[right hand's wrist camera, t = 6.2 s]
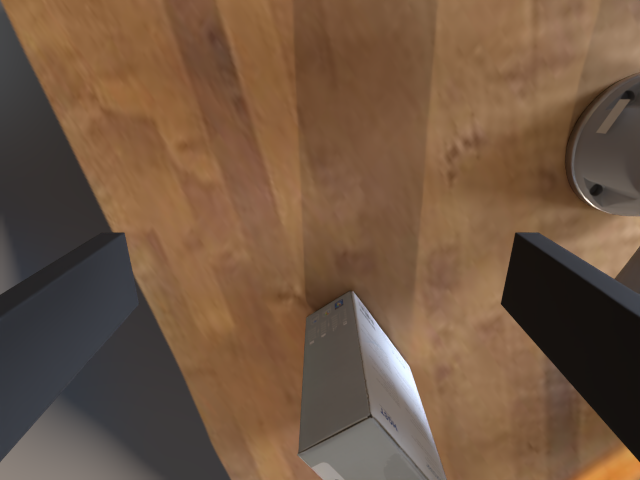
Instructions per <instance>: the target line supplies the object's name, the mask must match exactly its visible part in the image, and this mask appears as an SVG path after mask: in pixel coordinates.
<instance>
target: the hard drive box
mask: <svg viewBox="0 0 640 480" xmlns="http://www.w3.org/2000/svg"><path fill="white" fill-rule="evenodd" d="M297 455H298V456H299V457H300V458H301V459H302V460H303V461H304V462H305V463H306V464H307V465H308V466H309V467H310V468H311V469H312V470H313V471H314V472H315V473H316V474H317V475H318V476H319V477H320V478H321V479H322V480H447V479H446V475H445V472H444V469H443V466H442V463H441V460H440V457H439V454H438V451H437V448H436V445H435V442H434V439H433V436H432V433H431V430H430V427H429V424H428V421H427V418H426V415H425V412H424V409H423V406H422V403H421V400H420V397H419V394H418V391H417V388H416V385H415V382H414V378H413V376H412V373H411V370H410V367H409V366H408V364H407V363H406V362H405V360H404V359H403V358H402V356H401V355H400V353H399V352H398V351H397V349H396V348H395V347H394V345H393V344H392V343H391V341H390V340H389V339H388V337H387V336H386V335H385V333H384V332H383V331H382V329H381V328H380V327H379V325H378V324H377V322H376V321H375V320H374V318H373V317H372V316H371V314H370V313H369V311H368V310H367V309H366V307H365V306H364V305H363V304H362V302H361V301H360V299H359V298H358V297H357V295H356V294H355V293H354V291H352V292H350V291H349V292H347V293H346V294H344V295H342V296H341V297H339V298H337V299H336V300H334V301H332V302H331V303H329V304H327V305H326V306H324V307H323V308H321V309H319V310H318V311H316V312H314V313H313V314H311V315H309V316H308V317H307V318H306V331H305V347H304V366H303V384H302V401H301V419H300V435H299V452H298V454H297Z"/></svg>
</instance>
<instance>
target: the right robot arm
mask: <svg viewBox="0 0 640 480" xmlns="http://www.w3.org/2000/svg"><path fill="white" fill-rule="evenodd" d="M565 165H566V174H567V178H568V181H569V183H570V186H571V187H572V189H573V191H574V192H575V194H576V195H577V196H578V197H579V198H580V199H581V200H582V201H583V202H585V203H586V204H588V205H589V206H592V207H594V208H596V209H599V210H601V211H604V212H607V213H610V214H615V215H622V216H640V73H637V74H633V75H631V76H628V77H626V78H624V79H622V80H620V81H618V82H616V83H615V84H613V85H611V86H610V87H609V88H607V89H606V90H605V91H603V92H602V93H601V94H600V95H599V96H597V97H596V98H595V99H594V100H593V101H592V102H591V104H590V105H589V106H588V107H587V108H586V109H585V111H584V112H583V113H582V115H581V116H580V118H579V119H578V121H577V123H576V125H575V127H574V129H573V131H572V133H571V136H570V139H569V142H568V146H567V150H566V160H565ZM138 305H139V301H138V296H137V291H136V286H135V281H134V276H133V272H132V267H131V262H130V257H129V252H128V247H127V243H126V238H125V233H100V234H99V235H97V236H95V237H94V238H92V239H90V240H89V241H87V242H86V243H84V244H82V245H81V246H79V247H77V248H76V249H74V250H72V251H71V252H69V253H68V254H66V255H64V256H63V257H61V258H59V259H58V260H56V261H55V262H53V263H51V264H50V265H48V266H46V267H45V268H43V269H42V270H40V271H38V272H37V273H35V274H33V275H32V276H30V277H29V278H27V279H25V280H24V281H22V282H20V283H19V284H17V285H16V286H14V287H12V288H11V289H9V290H7V291H6V292H4V293H3V294H1V295H0V462H1V461H2V459H3V458H4V457H5V456H6V455H7V454H8V453H9V451H10V450H11V449H12V448H13V447H14V446H15V445H16V443H17V442H18V441H19V440H20V439H21V438H22V437H23V435H24V434H25V433H26V432H27V431H28V430H29V429H30V428H31V426H32V425H33V424H34V423H35V422H36V421H37V420H38V418H39V417H40V416H41V415H42V414H43V413H44V412H45V410H46V409H47V408H48V407H49V406H50V405H51V404H52V403H53V401H54V400H55V399H56V398H57V397H58V396H59V395H60V393H61V392H62V391H63V390H64V389H65V388H66V387H67V385H68V384H69V383H70V382H71V381H72V380H73V379H74V378H75V376H76V375H77V374H78V373H79V372H80V371H81V370H82V368H83V367H84V366H85V365H86V364H87V363H88V362H89V360H90V359H91V358H92V357H93V356H94V355H95V354H96V353H97V351H98V350H99V349H100V348H101V347H102V346H103V345H104V343H105V342H106V341H107V340H108V339H109V338H110V337H111V335H112V334H113V333H114V332H115V331H116V330H117V329H118V327H119V326H120V325H121V324H122V323H123V322H124V321H125V320H126V318H127V317H128V316H129V315H130V314H131V313H132V312H133V310H134V309H135V308H136V307H137V306H138ZM501 305H502V306H503V307H504V308H505V309H506V310H507V312H508V313H509V314H510V315H511V316H512V317H513V318H514V320H515V321H516V322H517V323H518V324H519V325H520V326H521V327H522V329H523V330H524V331H525V332H526V333H527V334H528V335H529V337H530V338H531V339H532V340H533V341H534V342H535V343H536V345H537V346H538V347H539V348H540V349H541V350H542V351H543V353H544V354H545V355H546V356H547V357H548V358H549V359H550V360H551V362H552V363H553V364H554V365H555V366H556V367H557V368H558V370H559V371H560V372H561V373H562V374H563V375H564V376H565V378H566V379H567V380H568V381H569V382H570V383H571V384H572V385H573V387H574V388H575V389H576V390H577V391H578V392H579V393H580V395H581V396H582V397H583V398H584V399H585V400H586V401H587V403H588V404H589V405H590V406H591V407H592V408H593V409H594V410H595V412H596V413H597V414H598V415H599V416H600V417H601V418H602V420H603V421H604V422H605V423H606V424H607V425H608V426H609V428H610V429H611V430H612V431H613V432H614V433H615V434H616V435H617V437H618V438H619V439H620V440H621V441H622V442H623V443H624V445H625V446H626V447H627V448H628V449H629V450H630V451H631V453H632V454H633V455H634V456H635V457H636V458H637V459H638V461H639V462H640V247H639V248H638V249H637V251H636V252H635V253H634V255H633V256H632V257H631V259H630V260H629V261H628V263H627V264H626V265H625V266H624V268H623V269H622V270H621V271H620V273H619V274H618V275H617V276H616V278H615V279H613V278H611V277H610V276H608V275H607V274H605V273H603V272H602V271H600V270H598V269H597V268H595V267H594V266H592V265H590V264H589V263H587V262H585V261H584V260H582V259H581V258H579V257H577V256H576V255H574V254H572V253H571V252H569V251H568V250H566V249H564V248H563V247H561V246H559V245H558V244H556V243H554V242H553V241H551V240H550V239H548V238H546V237H545V236H543V235H541V234H540V233H515V238H514V243H513V247H512V252H511V257H510V262H509V267H508V272H507V276H506V281H505V286H504V291H503V296H502V301H501Z"/></svg>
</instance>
